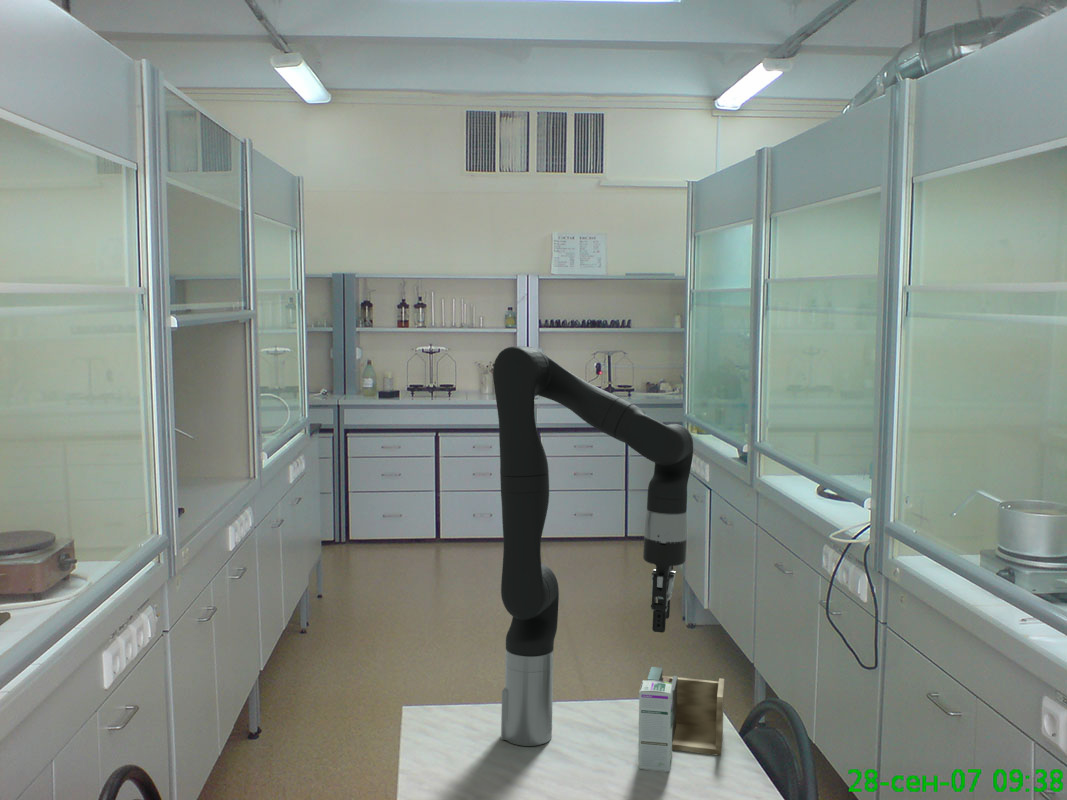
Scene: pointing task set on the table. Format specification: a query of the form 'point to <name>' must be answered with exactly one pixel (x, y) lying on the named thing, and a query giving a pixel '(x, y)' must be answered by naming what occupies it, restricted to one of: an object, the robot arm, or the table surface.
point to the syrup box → (655, 725)
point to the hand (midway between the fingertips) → (661, 624)
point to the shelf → (695, 713)
